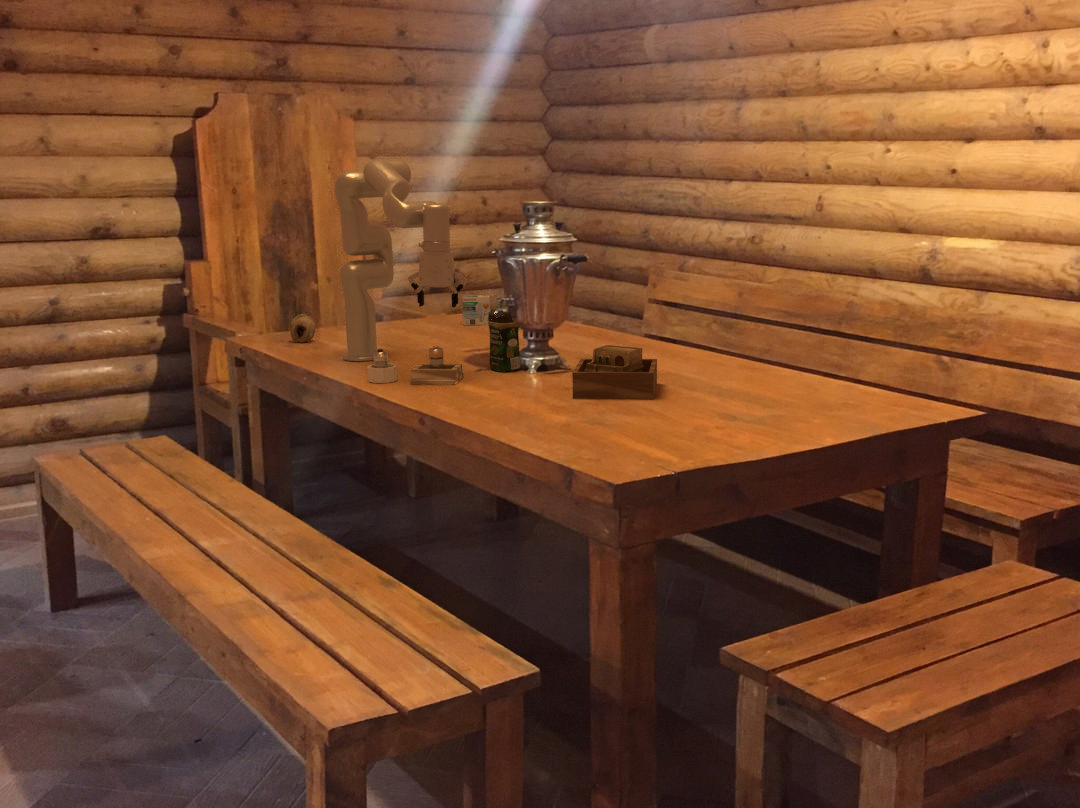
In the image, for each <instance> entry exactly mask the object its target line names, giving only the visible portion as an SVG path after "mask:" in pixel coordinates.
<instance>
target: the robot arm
mask: <svg viewBox="0 0 1080 808" xmlns="http://www.w3.org/2000/svg"><path fill="white" fill-rule="evenodd" d="M411 178H412V172H411V168H410V166H409V164H408V163H407V162H406V161H405V160H403V159H401V158H378V159H372V160H370V161H368V162H367V163H366V164H365V165H364V167H363V169H357V170H349V171H344V172H341V173H340V174H339V175H338V176H337V178H336V179H335V183H334V194H335V200H336V202H337V203H336V204H337V205H338V209H339V214H340V227H341V241H342V247H343V251H344V253H345V254H346V255H347V256H351V257H357V256H370V255H372V256H373V258H368V259H355V260H351V261H347V262H344V264H342V266H341V267H340V269H339V279H340V280H339V281H340V283H341V288H342V292H343V299H344V300H343V301H344V302H343V303H344V312H345V313H344V314H345V315H344V316H345V330H346V331H345V333H346V345H347V346H346V347H347V348H346V349H347V353H345V354H343V356H342V359H343V360H345V361H349V362H368V361H369V362H370V361H374V356H373V355H374V353H373V352H374V351H378V341H377V340H378V339H377V338H378V337H377V324H376V323H377V322H376V321H377V320H376V306H375V305H376V304H375V301H374V299H373V297H372V295H370V293H369V291H368V290H373V289H375V290H376V289H383V288H387V287H389V286H390V285H391V284H392V283H393V280H394V277H395V276H394V275H395V272H394V271H395V270H394V256H393V255H394V254H393V253H394V252H393V242H392V241H393V239H392V235H391V233H390V231H389V229H388V228H387V227H386V226H385V225H383V224H379V223H378V224H377V223H376V224H375V223H374V224H369V218H368V217H369V215H368V210H367V208H366V206H365V205H364V203H363V202H362V201H361V199H365V198H367V199H369V198H370V199H371V198H382V209H383V213H384V215H385V216H386V218H387V219H388V220H389V221H390V222H391V223H393V224H394V226H395V227H398V228H401V229H414V228H415V229H416V228H417V229H418V228H422V231H423V232H422V233H423V239H422V242H419V243H418V248H421V249H422V250H423V251H421V252H420V255H419V261H418V262H419V264H418V271H417V272H415V273H413V274H411V275H409V276H408V277H407V281H408V282H409V284H410V286H411V288H412V289H413V290H414V291H415V292H416V294H417V299H416V300H417V303H418V304H419V306H418V307H419V308H420V307H423V306H424V305H425V292H424V289H425V288H449V289H450V290H451V291H452V294H451V308H456V307H457V305H458V304H459V292H461V290H462V289H463V288H464V287H465V286H466V285H465V284H466V283H467V281H468V277H466V276H464V275H463V274H460V273H458V272H457V271H456V269H455V267H456V266H455V260H454V259H455V258H454V255H453V251H451V240H450V238H451V236H450V227H451V226H450V225H451V224H450V208H449V205H447V204H446V203H442V202H441V203H440V202H439V203H437V202H436V201H432V200H422V201H421V200H417V201H415V200H413V201H405V200H406V199H407V198H408V196H409V193H410V184H409V183H410V181H411ZM417 278H418V284H417V283H416V281H415V279H417ZM456 279H458V280H459V281H460V283H459V284H458V285H456Z"/></svg>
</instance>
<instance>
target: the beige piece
mask: <svg viewBox="0 0 1080 808" xmlns="http://www.w3.org/2000/svg"><path fill="white" fill-rule="evenodd" d="M397 379H398V365H397V364H394V363H388V368H374V363H373V364H370V365H368V366H367V381H368V382H369V381H370V382H373V383H372V384H376V383H384V384H390V383H389V382H392V383H395V382H397V381H398V380H397ZM396 380H397V381H396ZM394 381H395V382H394ZM370 382H369V383H370Z"/></svg>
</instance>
